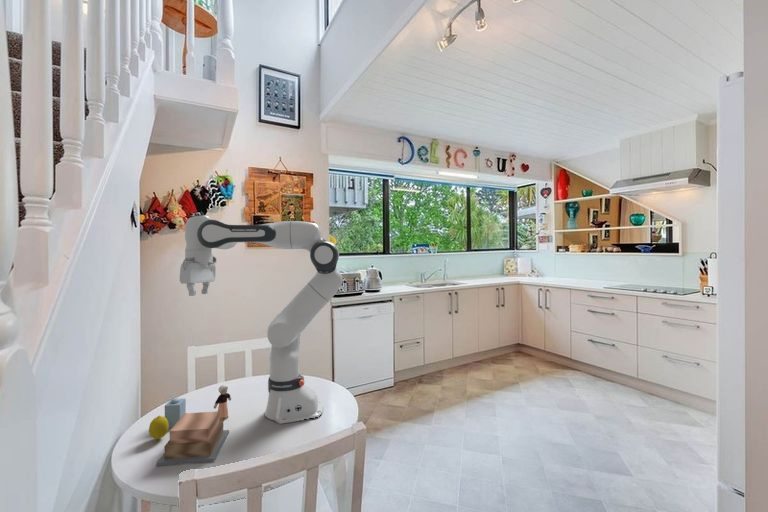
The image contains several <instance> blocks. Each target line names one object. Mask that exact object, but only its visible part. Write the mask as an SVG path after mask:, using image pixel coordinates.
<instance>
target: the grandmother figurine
mask: <svg viewBox="0 0 768 512" xmlns="http://www.w3.org/2000/svg"><path fill="white" fill-rule="evenodd" d="M228 390H229V387H228V385H225V384H221V386H219V388H218V392H219V393H220V394H219V395H218V397H217V399H216V400H215V402H214V405H213V409H217V411H219V421H223V422H224V419H227V418H229V408H228V401H231V400H232V397H231V394H230V393H229V392H228Z"/></svg>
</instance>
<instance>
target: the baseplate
mask: <svg viewBox="0 0 768 512" xmlns="http://www.w3.org/2000/svg"><path fill="white" fill-rule="evenodd" d="M229 434H230V430H229V429H223V434H222V436H221V438H220V440H219V441H218V443H217V445H216V447H215V449H214V450H213V452H212V454H211V456H200V457H187V458H174V459H164V453H162V455H161V457H160V458H159V459H158V460H157V462H156V467H163V466H164V467H165V466H174V465H175V466H177V465H185V464H184V463H190V464H200V463H214V462H215V461H216V459H217V457H218V455H219V454H220V451H221V449H222V447H223V446H224V443H225V441H226V440H227V438H228V436H229Z"/></svg>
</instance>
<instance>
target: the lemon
mask: <svg viewBox="0 0 768 512" xmlns="http://www.w3.org/2000/svg"><path fill="white" fill-rule="evenodd" d="M169 428H170V427H169V424H168V420H167V419H166V418H165V416H163V415H158V416H156V417H155V418H153V419H152V420H151V422H150V423H149V427H148V433H149V436H150V437H151V438H152V439H155V440H158V441H159V440H160V439H162V438H163V437H164V436H165V435H167V433H168V431H169Z"/></svg>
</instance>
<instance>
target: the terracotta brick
mask: <svg viewBox="0 0 768 512" xmlns="http://www.w3.org/2000/svg"><path fill="white" fill-rule="evenodd" d="M223 430H224V420H223V421H219V411H218V410H216V411H203V412H200V411H199V412H186V413H184V415H183V416H182V417H181V418H180V419H179V421H178V422H177V423H176V424H175V425H174V426H173V427H171V429H170V430H169V440H168V441H167V443H166V444H165V445H164V446H163V447H164V450H163V451H164V453H163V454H164V459H174V458H187V457H200V456H211V454H212V452H213V450H214V449H215V447H216V445H217V443H218V441H219V440H220V438H221V436H222V434H223Z"/></svg>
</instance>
